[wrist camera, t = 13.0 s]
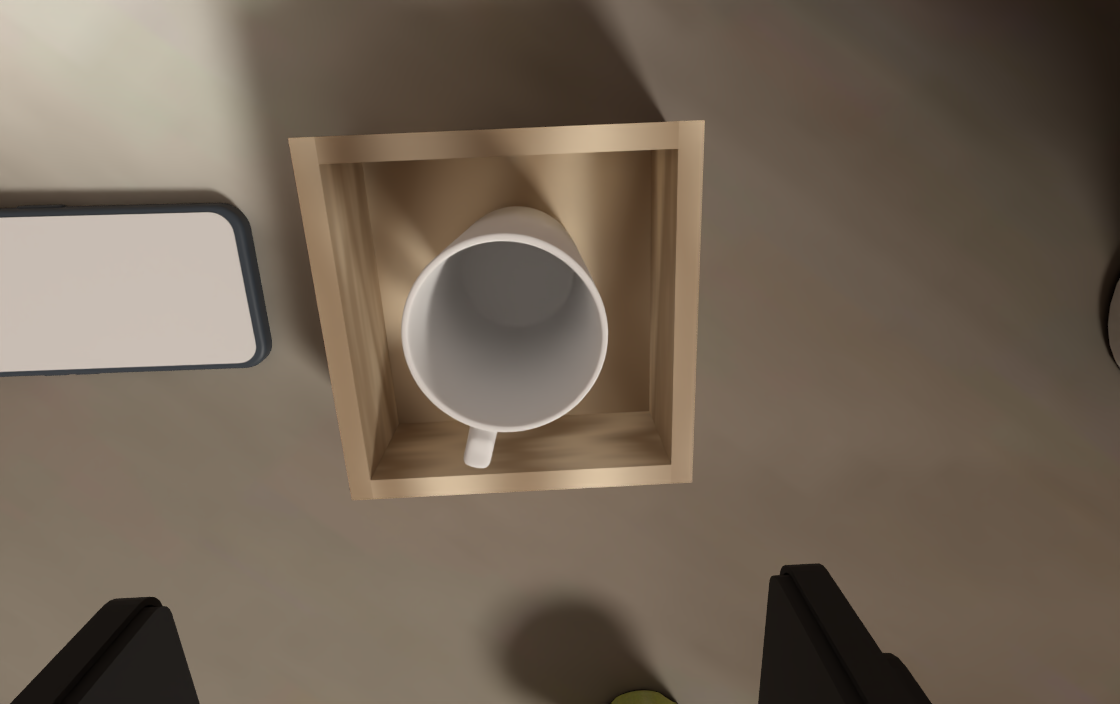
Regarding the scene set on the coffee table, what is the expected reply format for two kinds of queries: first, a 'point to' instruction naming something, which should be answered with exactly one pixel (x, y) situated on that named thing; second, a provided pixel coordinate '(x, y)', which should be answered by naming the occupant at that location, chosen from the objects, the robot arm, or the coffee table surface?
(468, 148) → the open wooden crate
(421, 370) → the mug
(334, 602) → the coffee table surface
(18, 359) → the smartphone
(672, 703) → the plant pot
